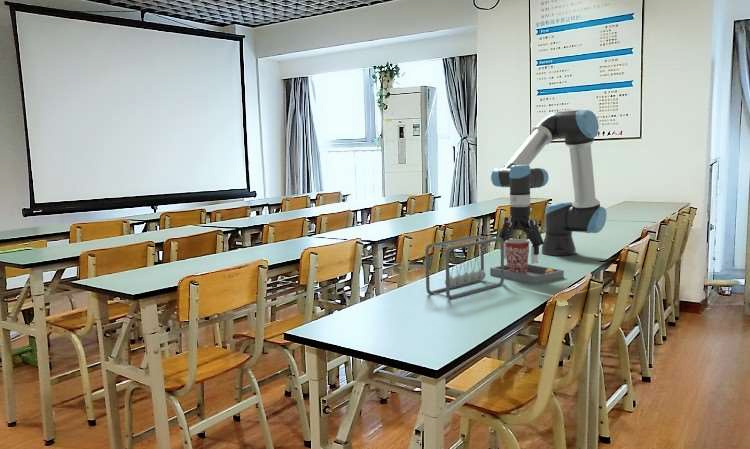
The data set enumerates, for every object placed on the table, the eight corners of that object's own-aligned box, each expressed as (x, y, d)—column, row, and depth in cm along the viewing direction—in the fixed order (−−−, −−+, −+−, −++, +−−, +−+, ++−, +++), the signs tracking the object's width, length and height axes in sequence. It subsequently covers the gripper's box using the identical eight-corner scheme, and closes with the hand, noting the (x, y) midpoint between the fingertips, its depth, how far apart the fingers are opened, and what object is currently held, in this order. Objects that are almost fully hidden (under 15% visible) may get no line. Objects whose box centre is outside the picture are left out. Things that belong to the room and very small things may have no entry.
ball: (549, 275, 225) (549, 267, 225) (555, 277, 223) (556, 268, 222) (543, 277, 224) (543, 268, 223) (550, 278, 221) (550, 269, 221)
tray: (518, 270, 240) (518, 262, 239) (563, 279, 222) (563, 270, 221) (490, 276, 231) (490, 267, 230) (535, 285, 213) (535, 276, 212)
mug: (521, 279, 221) (521, 243, 219) (500, 276, 227) (500, 241, 226) (538, 273, 230) (538, 239, 228) (517, 270, 236) (517, 237, 235)
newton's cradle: (448, 300, 197) (447, 247, 195) (425, 295, 205) (424, 244, 203) (504, 285, 216) (504, 236, 214) (482, 280, 224) (481, 234, 222)
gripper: (489, 204, 233) (489, 257, 236) (539, 208, 213) (540, 266, 216) (502, 202, 237) (502, 255, 240) (553, 206, 217) (553, 263, 220)
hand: (520, 260), depth 228 cm, fingers open, 13 cm apart
